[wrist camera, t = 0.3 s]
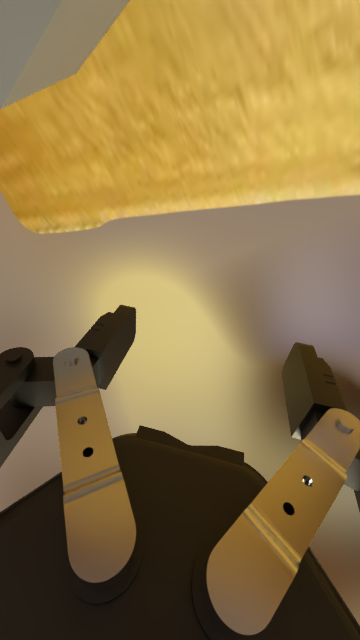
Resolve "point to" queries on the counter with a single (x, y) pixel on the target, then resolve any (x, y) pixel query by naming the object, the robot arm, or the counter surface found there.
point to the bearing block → (48, 41)
